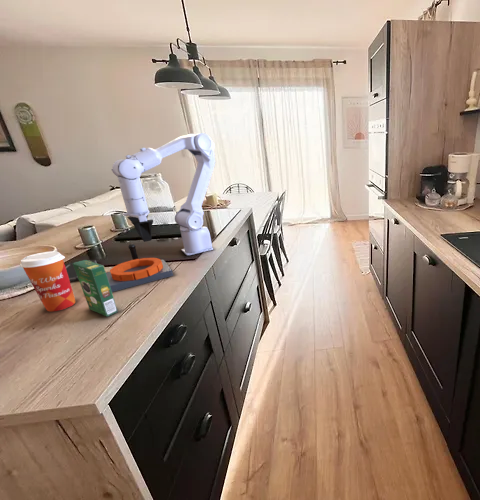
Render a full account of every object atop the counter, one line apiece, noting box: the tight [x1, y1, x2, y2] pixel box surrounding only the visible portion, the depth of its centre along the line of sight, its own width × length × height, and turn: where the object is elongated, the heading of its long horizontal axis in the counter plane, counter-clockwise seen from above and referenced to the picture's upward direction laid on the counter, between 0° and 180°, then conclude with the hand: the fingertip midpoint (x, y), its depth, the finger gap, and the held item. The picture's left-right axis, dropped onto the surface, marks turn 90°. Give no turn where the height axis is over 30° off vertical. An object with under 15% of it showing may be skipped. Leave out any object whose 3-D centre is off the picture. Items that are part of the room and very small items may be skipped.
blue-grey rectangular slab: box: [106, 259, 174, 293], centre depth 90 cm, size 16×12×2 cm
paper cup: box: [19, 250, 76, 312], centre depth 72 cm, size 8×8×14 cm
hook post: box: [127, 243, 139, 260], centre depth 99 cm, size 4×4×7 cm
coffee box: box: [72, 259, 118, 318], centre depth 70 cm, size 8×3×13 cm, turn 65°
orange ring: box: [109, 257, 163, 281], centre depth 89 cm, size 13×13×2 cm
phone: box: [65, 259, 98, 283], centre depth 93 cm, size 8×1×15 cm
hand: (145, 238), depth 97 cm, fingers open, 7 cm apart
